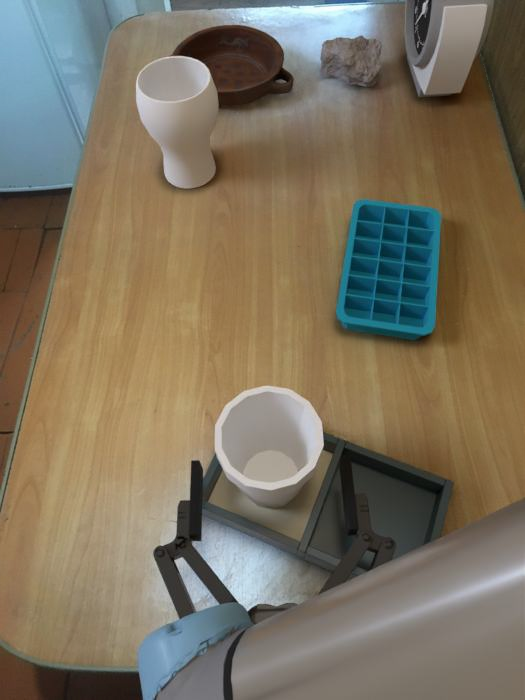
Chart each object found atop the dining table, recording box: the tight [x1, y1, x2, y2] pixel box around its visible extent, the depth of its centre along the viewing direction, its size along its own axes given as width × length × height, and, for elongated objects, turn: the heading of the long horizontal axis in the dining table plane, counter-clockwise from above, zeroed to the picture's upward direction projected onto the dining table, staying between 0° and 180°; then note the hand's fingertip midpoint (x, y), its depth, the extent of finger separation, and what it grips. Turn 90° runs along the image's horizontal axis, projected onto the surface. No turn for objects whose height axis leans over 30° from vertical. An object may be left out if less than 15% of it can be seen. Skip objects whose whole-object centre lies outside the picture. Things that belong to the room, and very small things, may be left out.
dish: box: [168, 24, 295, 107], centre depth 91 cm, size 18×22×5 cm
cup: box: [135, 55, 220, 189], centre depth 76 cm, size 11×11×15 cm
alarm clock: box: [403, 0, 495, 98], centre depth 83 cm, size 18×8×20 cm, turn 3°
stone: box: [320, 35, 383, 88], centre depth 90 cm, size 8×10×6 cm
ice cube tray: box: [335, 198, 442, 341], centre depth 71 cm, size 12×20×3 cm, turn 169°
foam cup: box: [214, 384, 324, 509], centre depth 53 cm, size 10×9×13 cm
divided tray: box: [202, 431, 455, 580], centre depth 56 cm, size 23×12×4 cm, turn 67°
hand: (270, 461), depth 51 cm, fingers open, 13 cm apart
